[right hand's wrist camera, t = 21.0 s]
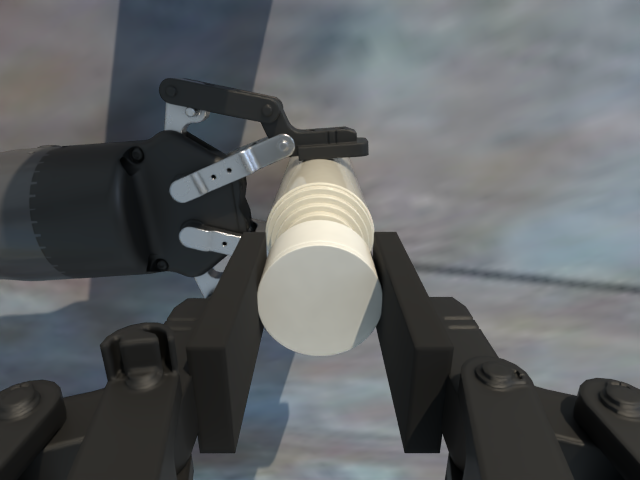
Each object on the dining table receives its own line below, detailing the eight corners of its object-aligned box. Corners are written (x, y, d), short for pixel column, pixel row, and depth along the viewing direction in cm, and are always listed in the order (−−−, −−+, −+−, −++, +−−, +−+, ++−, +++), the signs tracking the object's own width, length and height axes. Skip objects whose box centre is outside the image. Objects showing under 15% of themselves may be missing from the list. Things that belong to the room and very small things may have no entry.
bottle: (276, 155, 29) (218, 257, 13) (336, 128, 29) (361, 196, 12) (303, 213, 31) (284, 372, 14) (361, 188, 30) (415, 324, 13)
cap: (322, 196, 13) (322, 218, 11) (396, 272, 14) (409, 306, 12) (243, 268, 14) (229, 301, 12) (317, 335, 15) (317, 377, 13)
